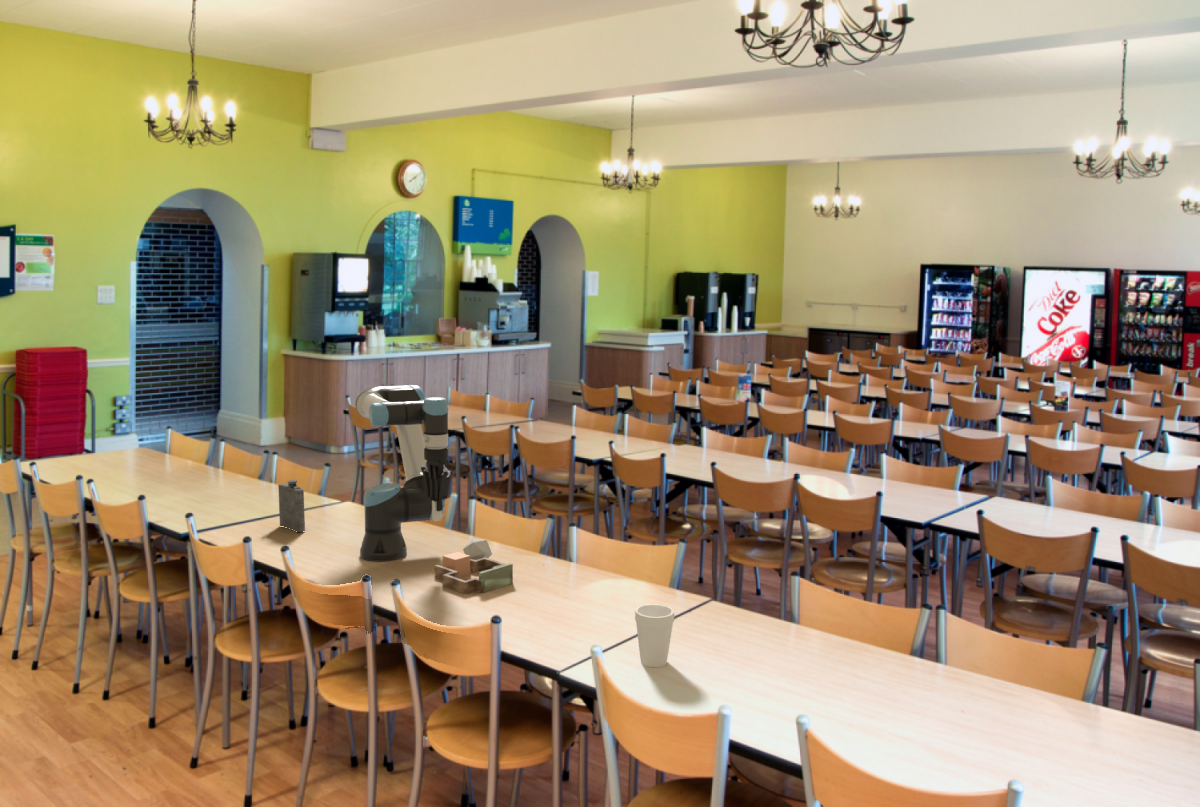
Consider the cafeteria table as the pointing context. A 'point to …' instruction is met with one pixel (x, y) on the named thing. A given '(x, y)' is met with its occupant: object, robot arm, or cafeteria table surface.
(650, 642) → the foam cup
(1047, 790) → the cafeteria table surface
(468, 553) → the die
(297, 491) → the flask
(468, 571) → the block
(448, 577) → the trap lane
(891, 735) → the cafeteria table surface
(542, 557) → the cafeteria table surface
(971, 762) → the cafeteria table surface
